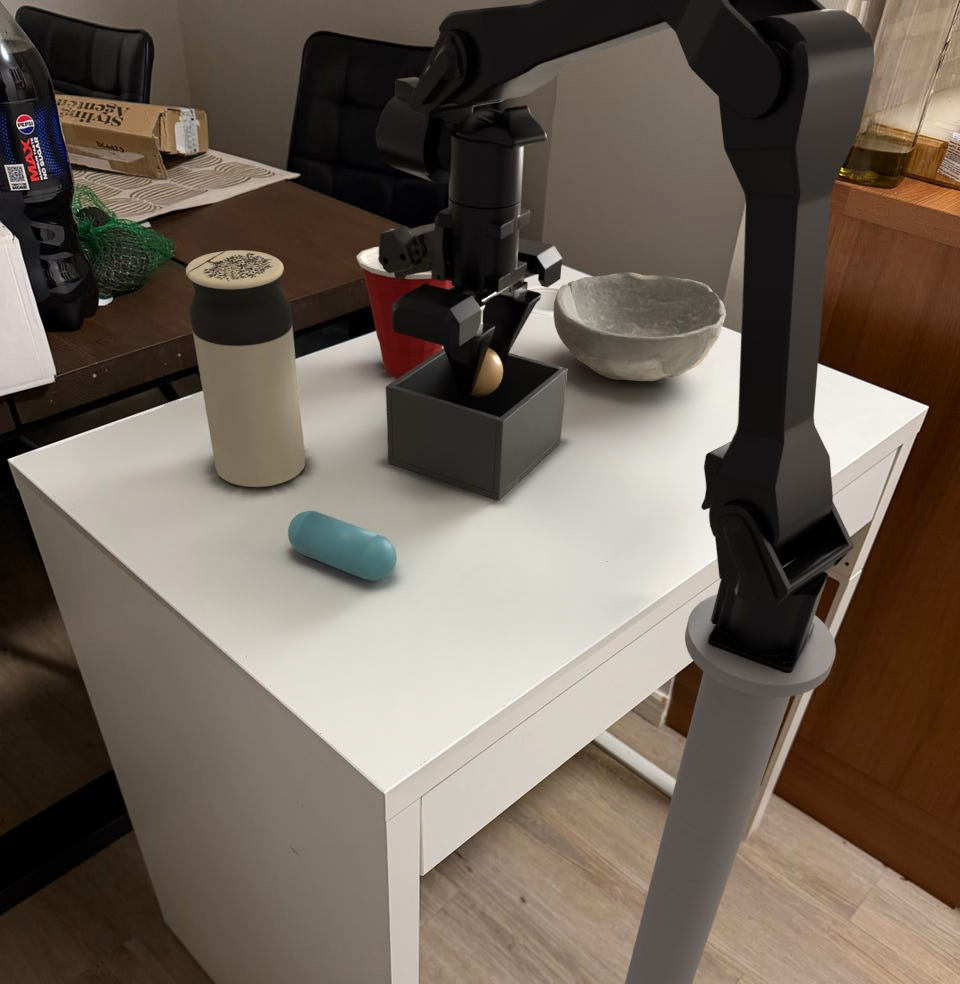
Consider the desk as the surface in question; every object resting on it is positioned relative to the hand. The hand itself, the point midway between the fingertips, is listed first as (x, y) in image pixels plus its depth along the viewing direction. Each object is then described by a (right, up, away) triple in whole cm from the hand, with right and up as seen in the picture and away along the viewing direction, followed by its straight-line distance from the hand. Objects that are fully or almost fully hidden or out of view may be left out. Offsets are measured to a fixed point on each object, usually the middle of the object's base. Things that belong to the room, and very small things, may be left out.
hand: (478, 383), depth 85 cm
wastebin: (0, -5, +5) cm, 7 cm away
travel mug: (-20, -7, +1) cm, 21 cm away
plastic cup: (-7, +6, +18) cm, 21 cm away
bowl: (+17, +7, +20) cm, 26 cm away
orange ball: (0, -1, +1) cm, 1 cm away
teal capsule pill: (-11, -17, -9) cm, 22 cm away
